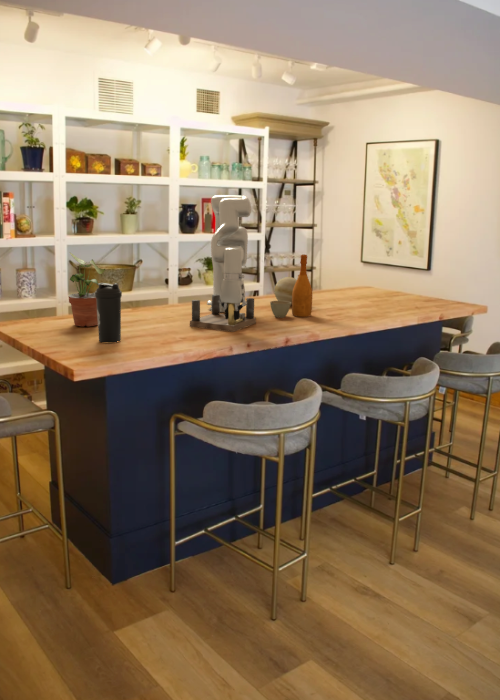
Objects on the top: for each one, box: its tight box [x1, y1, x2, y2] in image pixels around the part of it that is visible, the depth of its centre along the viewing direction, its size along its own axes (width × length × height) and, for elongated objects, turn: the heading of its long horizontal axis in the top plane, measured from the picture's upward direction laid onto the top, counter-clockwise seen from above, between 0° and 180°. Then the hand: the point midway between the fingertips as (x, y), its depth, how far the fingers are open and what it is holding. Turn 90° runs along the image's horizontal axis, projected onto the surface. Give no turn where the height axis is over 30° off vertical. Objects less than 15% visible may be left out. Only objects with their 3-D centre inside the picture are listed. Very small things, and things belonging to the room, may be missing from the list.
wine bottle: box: [291, 253, 313, 318], centre depth 318 cm, size 10×10×30 cm
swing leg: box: [228, 303, 246, 325], centre depth 287 cm, size 13×4×9 cm, turn 155°
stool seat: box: [189, 294, 257, 333], centre depth 295 cm, size 22×22×12 cm
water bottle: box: [94, 282, 122, 343], centre depth 258 cm, size 10×10×23 cm
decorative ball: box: [273, 276, 297, 306], centre depth 349 cm, size 15×15×15 cm
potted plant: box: [68, 252, 106, 328], centre depth 285 cm, size 16×15×35 cm
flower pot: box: [270, 300, 292, 318], centre depth 317 cm, size 10×10×7 cm
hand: (232, 318), depth 283 cm, fingers closed on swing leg, 3 cm apart
